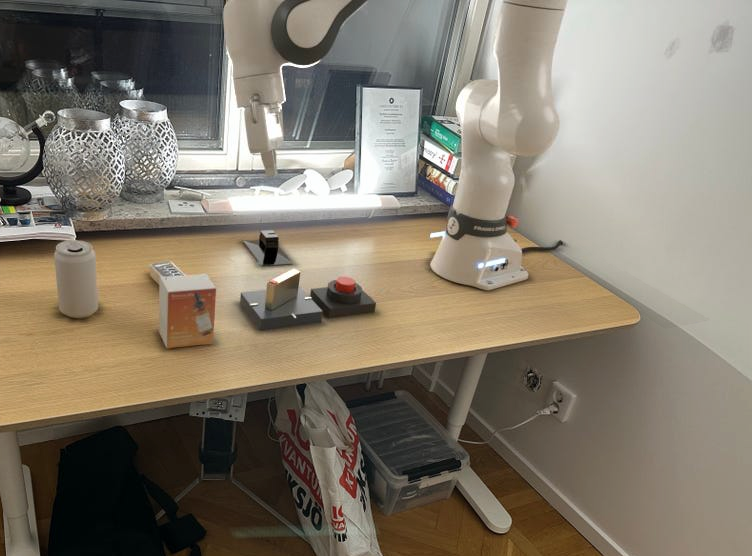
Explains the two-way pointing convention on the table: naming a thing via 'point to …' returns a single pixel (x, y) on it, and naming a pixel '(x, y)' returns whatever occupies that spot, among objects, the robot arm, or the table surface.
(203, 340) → the small box
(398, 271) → the table surface
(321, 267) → the table surface
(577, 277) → the table surface
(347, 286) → the button
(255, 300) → the dial panel
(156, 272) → the multiport hub
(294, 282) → the pointer
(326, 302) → the button box
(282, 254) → the build plate
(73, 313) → the beverage can
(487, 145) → the robot arm
